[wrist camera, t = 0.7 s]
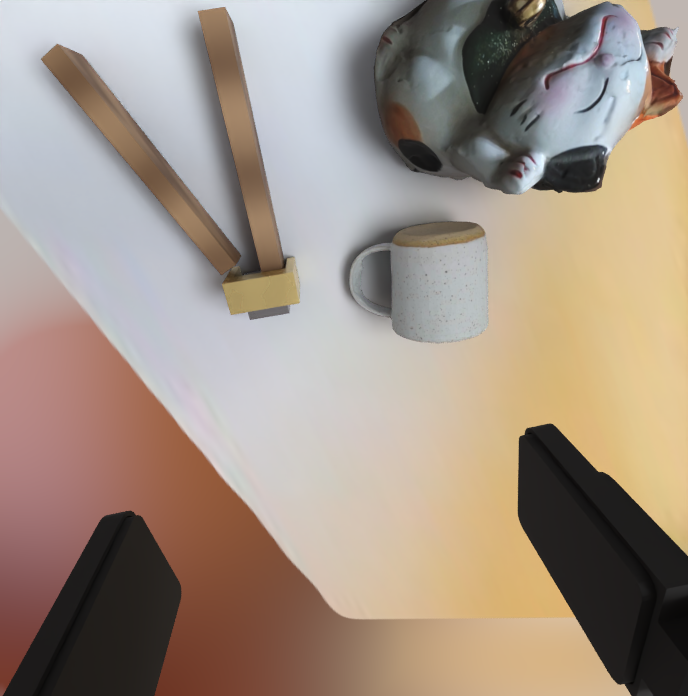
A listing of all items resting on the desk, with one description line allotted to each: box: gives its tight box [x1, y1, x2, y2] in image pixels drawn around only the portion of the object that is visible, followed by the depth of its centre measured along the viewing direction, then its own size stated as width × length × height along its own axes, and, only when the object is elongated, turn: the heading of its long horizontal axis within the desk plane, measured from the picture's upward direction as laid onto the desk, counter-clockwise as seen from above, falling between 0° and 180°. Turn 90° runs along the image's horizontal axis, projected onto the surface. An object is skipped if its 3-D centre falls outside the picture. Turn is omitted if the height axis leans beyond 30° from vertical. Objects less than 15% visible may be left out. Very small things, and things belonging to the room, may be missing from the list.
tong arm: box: [41, 44, 241, 275], centre depth 28 cm, size 16×1×3 cm, turn 33°
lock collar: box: [222, 257, 300, 315], centre depth 32 cm, size 2×5×5 cm, turn 98°
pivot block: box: [245, 271, 290, 320], centre depth 33 cm, size 3×3×3 cm
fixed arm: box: [198, 7, 286, 272], centre depth 29 cm, size 18×2×3 cm, turn 8°
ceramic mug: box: [349, 222, 488, 343], centre depth 32 cm, size 11×8×8 cm
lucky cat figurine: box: [374, 0, 683, 194], centre depth 24 cm, size 15×12×14 cm
